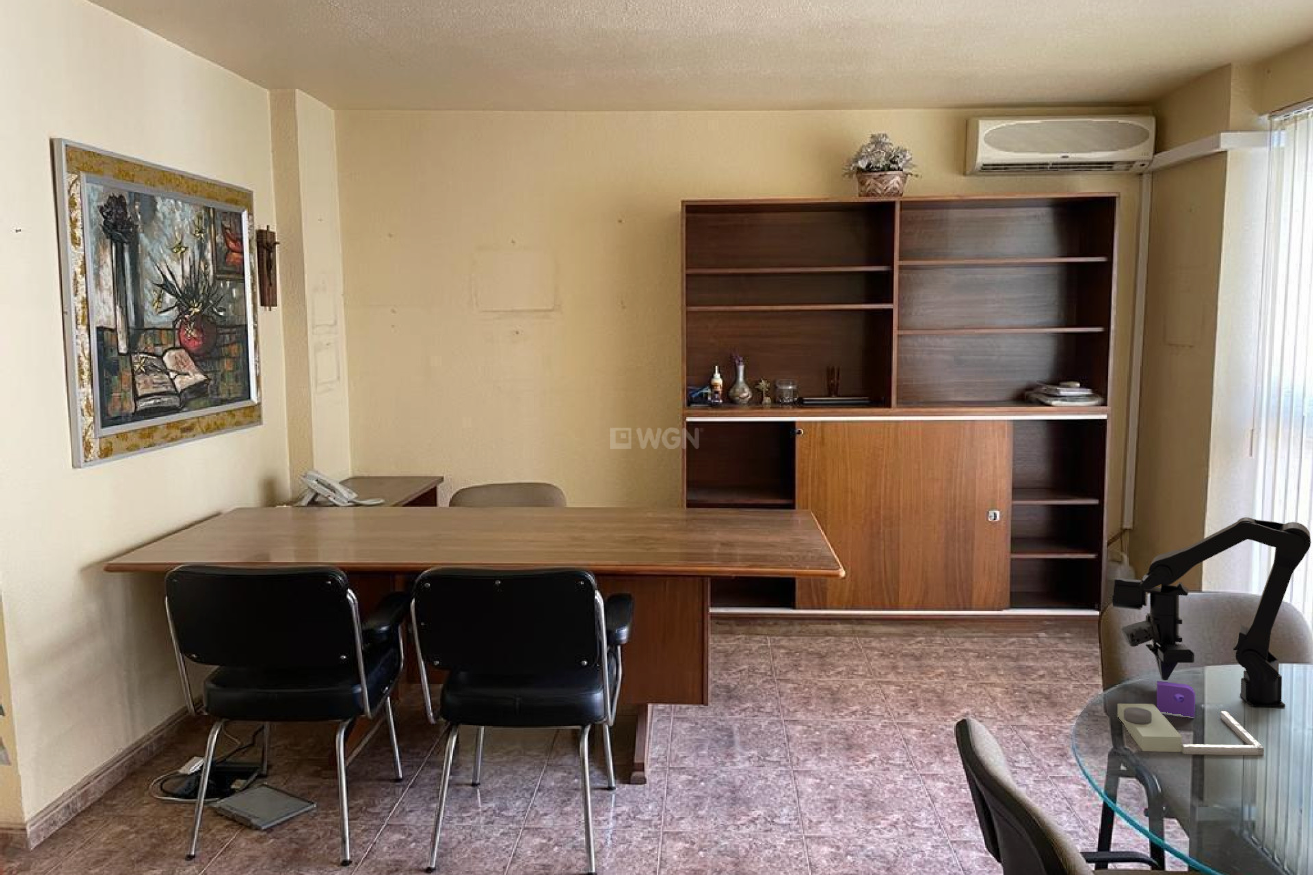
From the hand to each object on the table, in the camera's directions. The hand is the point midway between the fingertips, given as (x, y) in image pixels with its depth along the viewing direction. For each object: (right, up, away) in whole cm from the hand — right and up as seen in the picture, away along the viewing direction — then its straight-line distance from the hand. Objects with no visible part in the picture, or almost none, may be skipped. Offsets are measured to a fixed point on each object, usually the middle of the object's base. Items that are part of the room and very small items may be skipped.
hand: (1164, 679), depth 214 cm
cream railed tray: (-8, -5, -23) cm, 25 cm away
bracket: (-2, -4, -9) cm, 10 cm away
